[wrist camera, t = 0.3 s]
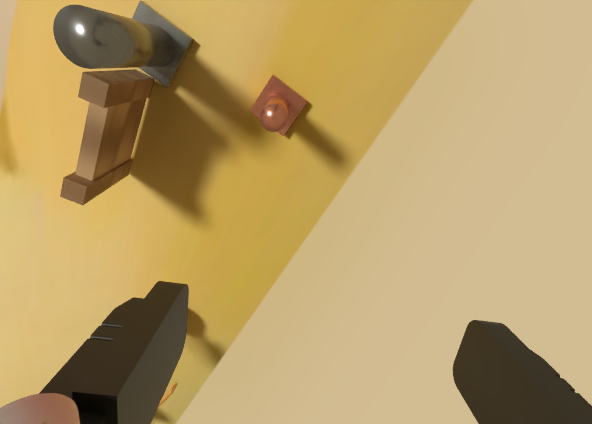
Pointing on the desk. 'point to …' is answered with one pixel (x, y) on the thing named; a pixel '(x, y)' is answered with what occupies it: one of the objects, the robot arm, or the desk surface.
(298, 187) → the desk surface
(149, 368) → the robot arm
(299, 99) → the gate posts
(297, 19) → the desk surface
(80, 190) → the gate
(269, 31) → the desk surface
